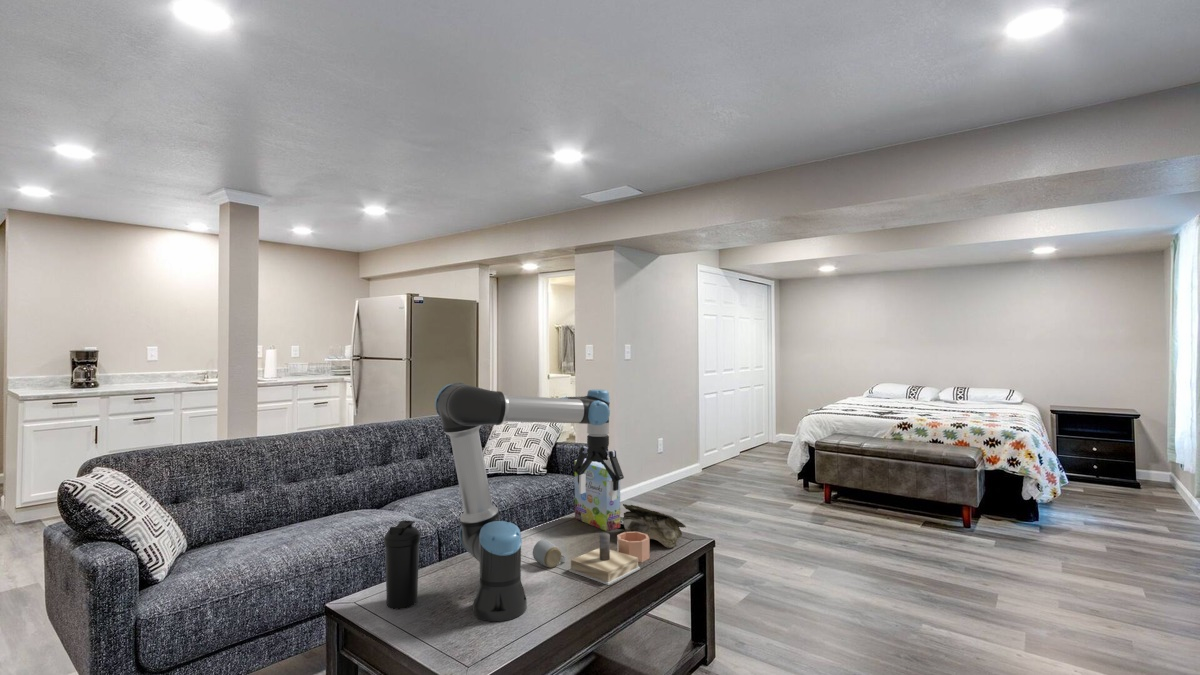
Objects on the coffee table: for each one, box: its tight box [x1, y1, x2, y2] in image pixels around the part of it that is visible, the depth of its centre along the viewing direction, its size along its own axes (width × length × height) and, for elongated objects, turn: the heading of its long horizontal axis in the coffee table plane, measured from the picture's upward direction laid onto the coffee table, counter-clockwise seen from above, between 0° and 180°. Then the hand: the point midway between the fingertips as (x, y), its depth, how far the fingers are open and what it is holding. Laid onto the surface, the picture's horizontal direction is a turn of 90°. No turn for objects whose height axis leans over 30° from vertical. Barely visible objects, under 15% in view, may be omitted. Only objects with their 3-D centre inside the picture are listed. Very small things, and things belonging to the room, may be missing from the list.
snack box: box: [574, 457, 621, 532], centre depth 241 cm, size 22×9×26 cm, turn 41°
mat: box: [568, 566, 641, 586], centre depth 192 cm, size 17×17×1 cm
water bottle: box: [383, 520, 422, 610], centre depth 167 cm, size 10×10×23 cm
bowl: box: [616, 531, 651, 563], centre depth 204 cm, size 11×11×7 cm
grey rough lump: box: [622, 503, 687, 549], centre depth 222 cm, size 28×13×15 cm
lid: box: [570, 532, 639, 582], centre depth 192 cm, size 16×16×11 cm
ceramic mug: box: [532, 539, 567, 569], centre depth 197 cm, size 11×8×8 cm
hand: (597, 496), depth 197 cm, fingers open, 13 cm apart
